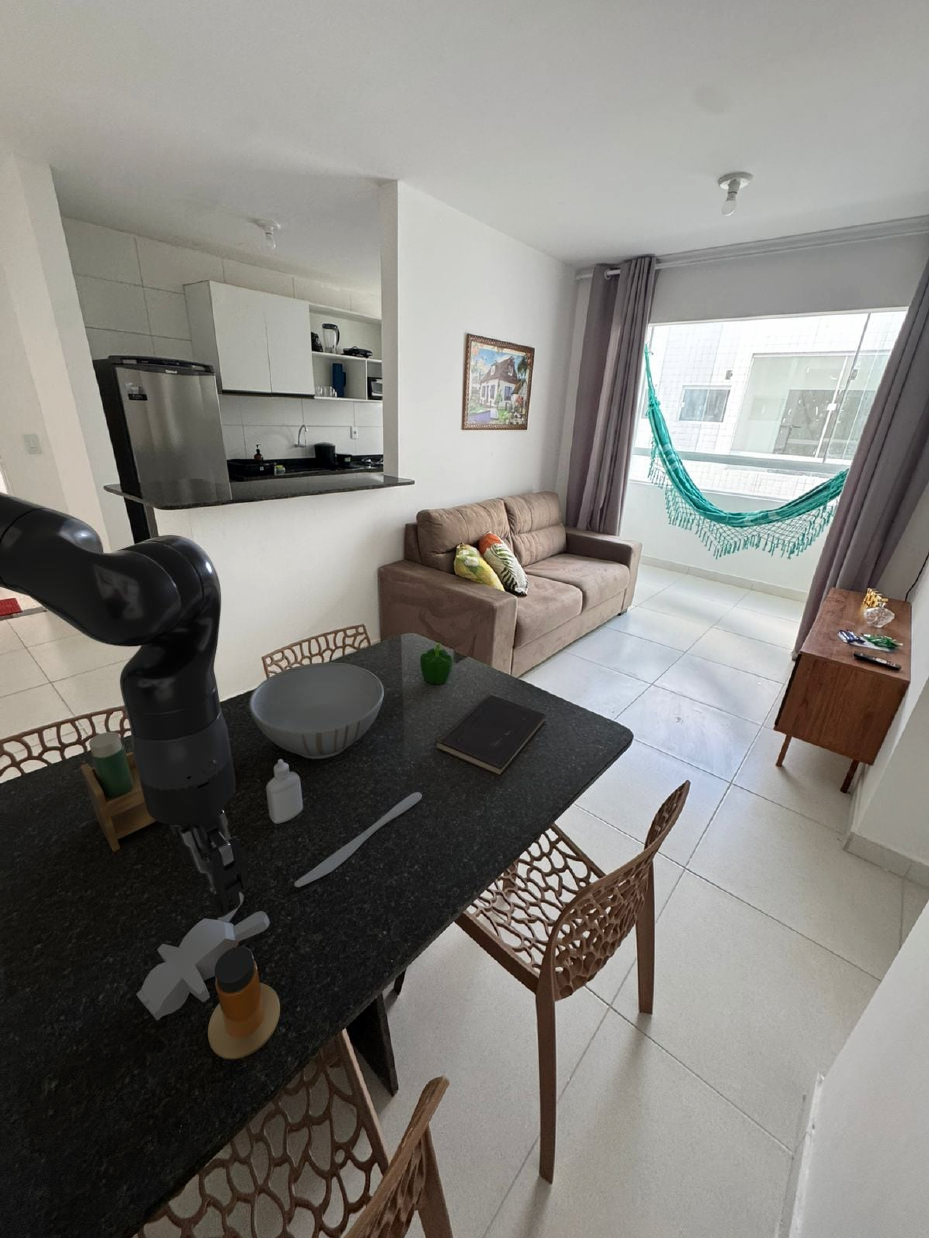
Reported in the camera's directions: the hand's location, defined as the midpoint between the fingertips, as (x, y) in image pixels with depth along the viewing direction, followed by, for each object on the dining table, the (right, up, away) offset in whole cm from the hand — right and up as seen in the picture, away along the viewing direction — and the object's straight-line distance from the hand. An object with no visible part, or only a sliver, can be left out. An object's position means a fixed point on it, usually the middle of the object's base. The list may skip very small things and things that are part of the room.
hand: (210, 882), depth 53 cm
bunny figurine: (-7, -18, +14) cm, 24 cm away
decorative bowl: (-4, +1, +58) cm, 58 cm away
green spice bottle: (-31, -1, +31) cm, 44 cm away
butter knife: (+10, -10, +35) cm, 37 cm away
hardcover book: (+33, +1, +63) cm, 71 cm away
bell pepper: (+19, +11, +83) cm, 86 cm away
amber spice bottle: (0, -21, +8) cm, 22 cm away
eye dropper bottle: (-5, -8, +39) cm, 40 cm away
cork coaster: (0, -21, +9) cm, 23 cm away
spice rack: (-27, -6, +39) cm, 48 cm away
